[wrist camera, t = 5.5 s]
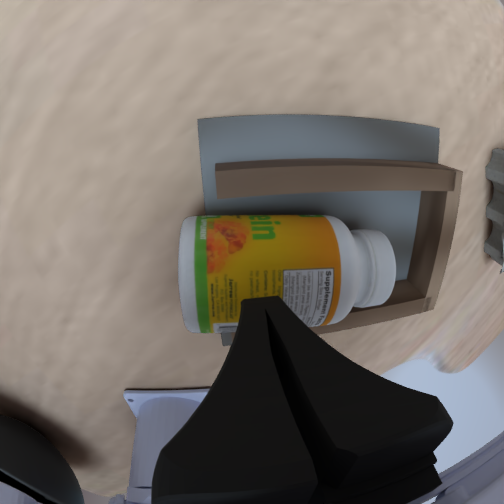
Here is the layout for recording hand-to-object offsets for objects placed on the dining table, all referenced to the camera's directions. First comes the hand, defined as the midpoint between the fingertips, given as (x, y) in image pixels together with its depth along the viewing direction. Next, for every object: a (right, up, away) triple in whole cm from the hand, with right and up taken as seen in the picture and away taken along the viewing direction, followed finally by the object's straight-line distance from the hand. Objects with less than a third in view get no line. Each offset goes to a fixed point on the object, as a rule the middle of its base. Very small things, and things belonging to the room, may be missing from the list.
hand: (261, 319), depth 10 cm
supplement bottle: (-4, +1, +3) cm, 5 cm away
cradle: (+4, +3, +7) cm, 9 cm away
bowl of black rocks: (-30, -22, +14) cm, 40 cm away
